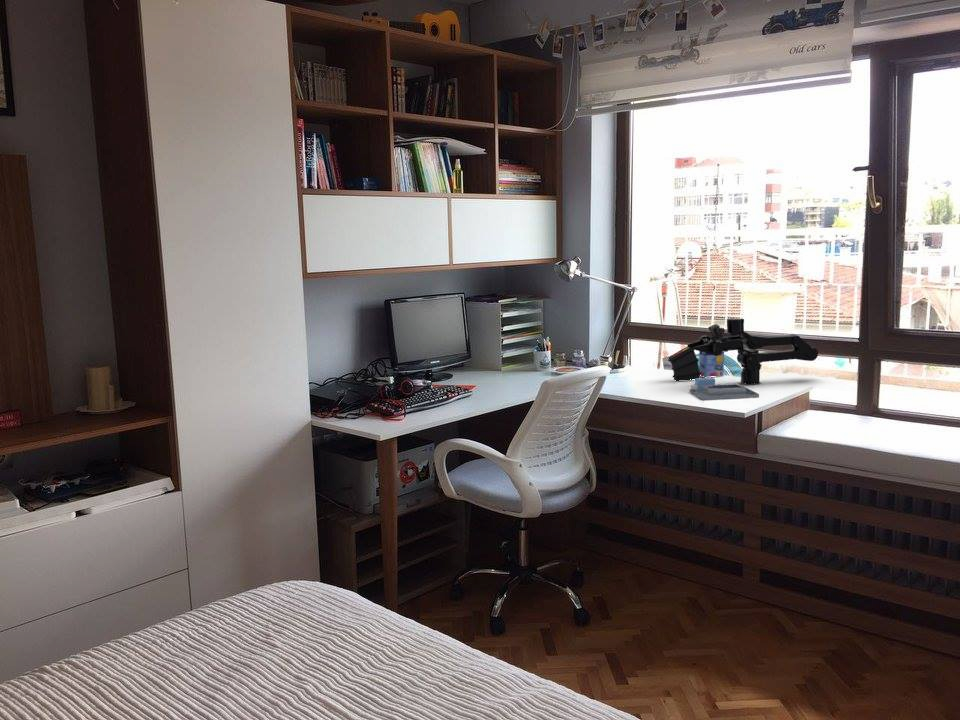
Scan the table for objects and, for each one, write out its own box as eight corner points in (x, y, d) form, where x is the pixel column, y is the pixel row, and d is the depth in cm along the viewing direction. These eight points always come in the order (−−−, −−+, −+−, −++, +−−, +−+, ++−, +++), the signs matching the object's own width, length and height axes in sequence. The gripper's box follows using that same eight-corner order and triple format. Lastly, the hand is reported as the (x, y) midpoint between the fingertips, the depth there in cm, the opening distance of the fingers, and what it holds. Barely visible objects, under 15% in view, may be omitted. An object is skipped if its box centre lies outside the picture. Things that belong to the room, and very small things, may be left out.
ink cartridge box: (706, 378, 354) (705, 345, 352) (698, 376, 359) (698, 344, 357) (724, 376, 357) (724, 343, 355) (716, 374, 363) (716, 342, 360)
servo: (711, 388, 332) (711, 375, 331) (715, 390, 328) (715, 377, 327) (690, 389, 332) (690, 376, 331) (693, 391, 328) (693, 378, 327)
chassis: (743, 389, 327) (743, 381, 326) (759, 397, 311) (759, 388, 310) (689, 392, 326) (689, 384, 325) (702, 400, 310) (702, 392, 310)
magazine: (707, 375, 351) (692, 345, 348) (681, 390, 350) (666, 360, 347) (703, 374, 355) (689, 344, 352) (677, 389, 354) (663, 359, 351)
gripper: (719, 322, 344) (683, 325, 343) (735, 326, 325) (697, 330, 325) (720, 348, 346) (684, 351, 345) (736, 354, 327) (698, 357, 326)
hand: (690, 347), depth 335 cm, fingers open, 9 cm apart
